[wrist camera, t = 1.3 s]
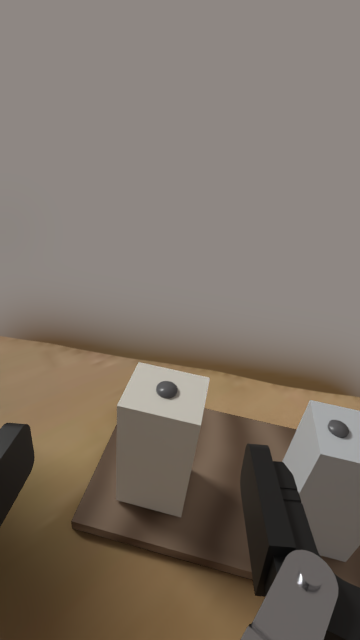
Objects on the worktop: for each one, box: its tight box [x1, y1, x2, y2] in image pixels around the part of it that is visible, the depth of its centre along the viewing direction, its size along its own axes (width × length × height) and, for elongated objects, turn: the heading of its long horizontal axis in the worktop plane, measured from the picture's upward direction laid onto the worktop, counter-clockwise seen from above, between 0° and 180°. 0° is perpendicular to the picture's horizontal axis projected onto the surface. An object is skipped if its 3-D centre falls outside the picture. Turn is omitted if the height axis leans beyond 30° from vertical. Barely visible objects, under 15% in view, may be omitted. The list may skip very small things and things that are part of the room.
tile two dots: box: [282, 400, 360, 562], centre depth 26 cm, size 6×5×12 cm
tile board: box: [71, 408, 360, 588], centre depth 33 cm, size 26×16×1 cm, turn 78°
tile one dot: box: [116, 362, 210, 517], centre depth 28 cm, size 6×5×12 cm
